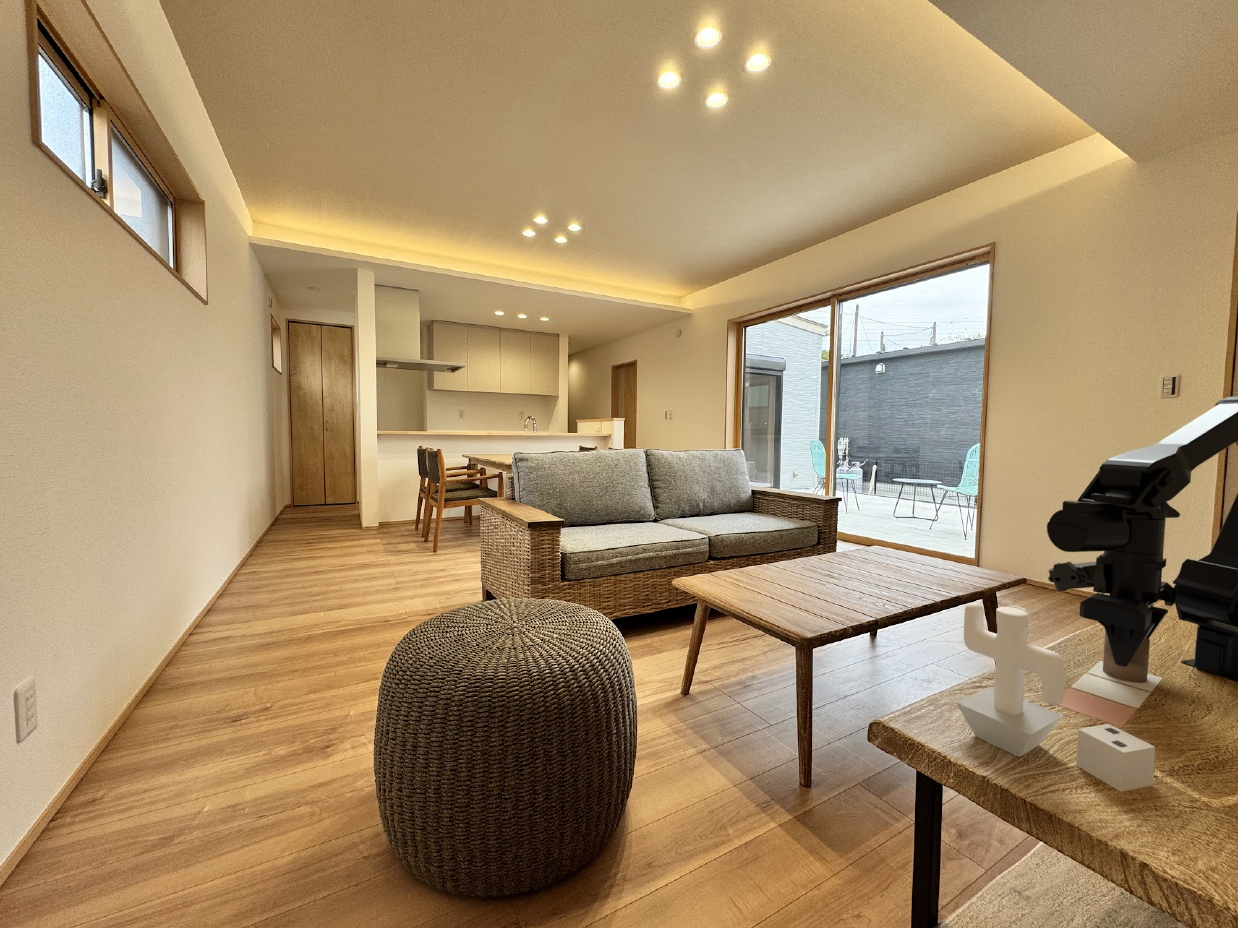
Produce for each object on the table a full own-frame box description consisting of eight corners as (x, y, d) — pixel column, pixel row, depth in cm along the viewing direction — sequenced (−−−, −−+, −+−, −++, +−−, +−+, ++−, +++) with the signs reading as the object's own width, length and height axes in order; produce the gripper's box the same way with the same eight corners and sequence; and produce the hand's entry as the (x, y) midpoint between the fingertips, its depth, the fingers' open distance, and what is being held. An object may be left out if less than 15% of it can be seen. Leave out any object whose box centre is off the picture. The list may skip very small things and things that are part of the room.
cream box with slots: (1105, 760, 54) (1108, 722, 54) (1152, 785, 50) (1155, 745, 50) (1076, 765, 53) (1078, 727, 53) (1121, 792, 50) (1123, 751, 49)
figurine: (1041, 775, 52) (1049, 629, 51) (944, 727, 60) (949, 601, 59) (1074, 753, 55) (1082, 616, 54) (978, 711, 63) (983, 591, 62)
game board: (1094, 660, 77) (1094, 657, 77) (1172, 681, 71) (1172, 678, 71) (1041, 705, 65) (1041, 701, 65) (1129, 736, 58) (1130, 732, 58)
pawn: (1118, 666, 74) (1121, 614, 74) (1155, 680, 70) (1159, 626, 69) (1094, 669, 73) (1097, 617, 73) (1131, 684, 69) (1134, 628, 68)
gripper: (1077, 532, 82) (1072, 627, 83) (1035, 547, 72) (1029, 657, 73) (1180, 544, 73) (1172, 652, 74) (1148, 565, 63) (1139, 689, 64)
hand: (1125, 660), depth 71 cm, fingers closed on pawn, 4 cm apart
